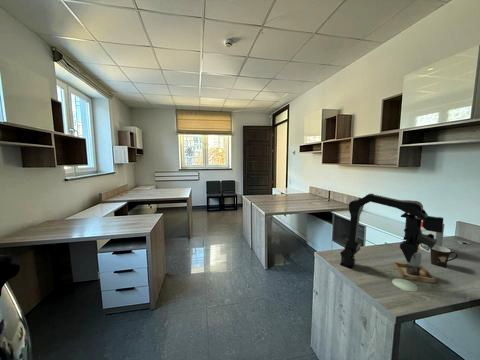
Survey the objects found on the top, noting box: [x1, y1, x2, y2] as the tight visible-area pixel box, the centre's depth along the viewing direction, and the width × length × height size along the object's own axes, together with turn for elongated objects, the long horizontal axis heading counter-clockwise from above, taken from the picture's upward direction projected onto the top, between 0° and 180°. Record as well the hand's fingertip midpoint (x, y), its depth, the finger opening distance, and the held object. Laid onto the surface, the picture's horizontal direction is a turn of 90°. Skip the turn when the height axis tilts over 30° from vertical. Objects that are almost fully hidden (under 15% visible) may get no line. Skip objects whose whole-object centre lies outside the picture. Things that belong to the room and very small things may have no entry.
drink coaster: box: [391, 277, 419, 292], centre depth 103 cm, size 10×10×1 cm
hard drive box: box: [418, 220, 445, 254], centre depth 140 cm, size 16×8×20 cm, turn 17°
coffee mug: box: [429, 245, 458, 268], centre depth 119 cm, size 12×9×10 cm
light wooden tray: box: [392, 261, 437, 284], centre depth 112 cm, size 14×14×2 cm
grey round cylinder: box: [406, 250, 423, 276], centre depth 111 cm, size 6×6×12 cm
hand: (410, 258), depth 100 cm, fingers open, 9 cm apart
